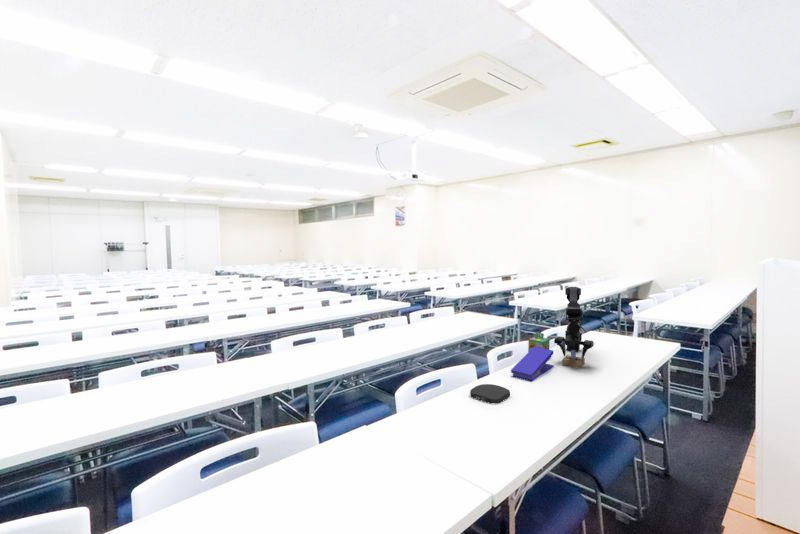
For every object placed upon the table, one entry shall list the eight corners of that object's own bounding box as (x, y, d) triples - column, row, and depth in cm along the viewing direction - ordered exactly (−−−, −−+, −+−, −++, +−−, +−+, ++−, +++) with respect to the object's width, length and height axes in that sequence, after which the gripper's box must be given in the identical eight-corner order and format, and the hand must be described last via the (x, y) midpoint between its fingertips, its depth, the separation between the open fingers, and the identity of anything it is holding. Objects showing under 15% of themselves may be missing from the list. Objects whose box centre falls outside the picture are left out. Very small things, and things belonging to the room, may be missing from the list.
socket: (562, 365, 208) (562, 359, 208) (567, 361, 215) (567, 355, 215) (580, 368, 203) (580, 362, 203) (584, 364, 210) (584, 357, 210)
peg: (570, 365, 209) (570, 350, 208) (571, 364, 211) (571, 349, 210) (575, 366, 207) (575, 351, 207) (576, 364, 209) (576, 350, 209)
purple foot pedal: (554, 367, 207) (554, 349, 206) (532, 382, 186) (532, 362, 185) (533, 363, 214) (533, 346, 214) (510, 377, 194) (510, 358, 193)
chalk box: (527, 359, 221) (527, 333, 220) (534, 355, 228) (534, 330, 227) (543, 362, 215) (543, 336, 214) (549, 358, 222) (549, 332, 221)
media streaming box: (513, 395, 171) (513, 389, 171) (496, 406, 161) (496, 399, 161) (484, 387, 181) (484, 381, 181) (466, 397, 171) (466, 390, 171)
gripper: (551, 330, 207) (551, 358, 208) (588, 334, 196) (588, 364, 197) (557, 326, 216) (557, 353, 217) (593, 330, 204) (593, 359, 205)
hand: (573, 357), depth 209 cm, fingers open, 9 cm apart
